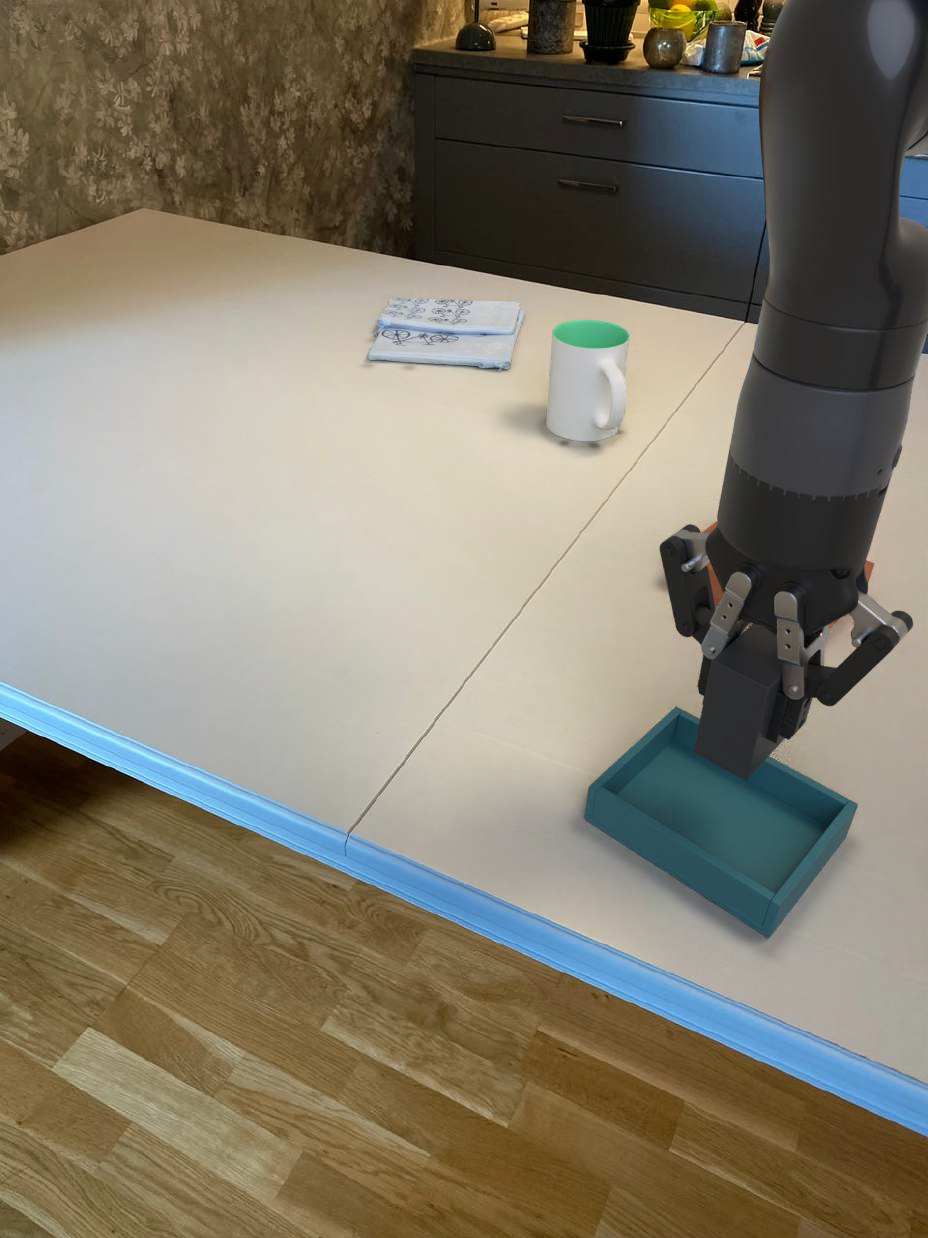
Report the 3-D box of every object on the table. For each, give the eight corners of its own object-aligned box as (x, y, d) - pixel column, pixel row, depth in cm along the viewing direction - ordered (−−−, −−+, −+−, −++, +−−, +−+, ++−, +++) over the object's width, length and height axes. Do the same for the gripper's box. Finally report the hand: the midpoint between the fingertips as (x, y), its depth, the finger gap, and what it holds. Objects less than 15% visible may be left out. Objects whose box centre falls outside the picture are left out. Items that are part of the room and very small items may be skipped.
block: (787, 736, 59) (813, 645, 54) (745, 781, 56) (769, 688, 51) (736, 709, 61) (756, 619, 56) (692, 752, 58) (711, 660, 53)
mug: (651, 449, 104) (664, 356, 98) (584, 463, 101) (593, 367, 95) (597, 404, 113) (606, 315, 106) (534, 415, 110) (539, 325, 104)
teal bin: (846, 837, 62) (859, 804, 60) (769, 939, 56) (780, 906, 54) (669, 738, 69) (676, 705, 67) (583, 819, 63) (588, 786, 61)
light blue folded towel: (525, 315, 135) (526, 299, 134) (510, 373, 119) (510, 356, 118) (390, 306, 137) (390, 291, 136) (357, 363, 121) (356, 346, 120)
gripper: (642, 431, 48) (610, 695, 58) (927, 535, 40) (832, 817, 51) (721, 385, 53) (678, 638, 63) (991, 471, 45) (892, 742, 55)
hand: (747, 716), depth 57 cm, fingers closed on block, 3 cm apart
